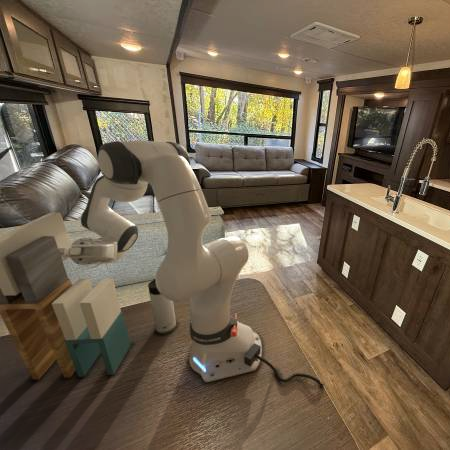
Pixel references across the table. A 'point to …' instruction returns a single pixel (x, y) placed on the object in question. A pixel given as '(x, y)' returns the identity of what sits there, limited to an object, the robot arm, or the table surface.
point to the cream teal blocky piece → (92, 324)
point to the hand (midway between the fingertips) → (53, 251)
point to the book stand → (37, 307)
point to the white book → (24, 235)
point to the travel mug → (161, 310)
